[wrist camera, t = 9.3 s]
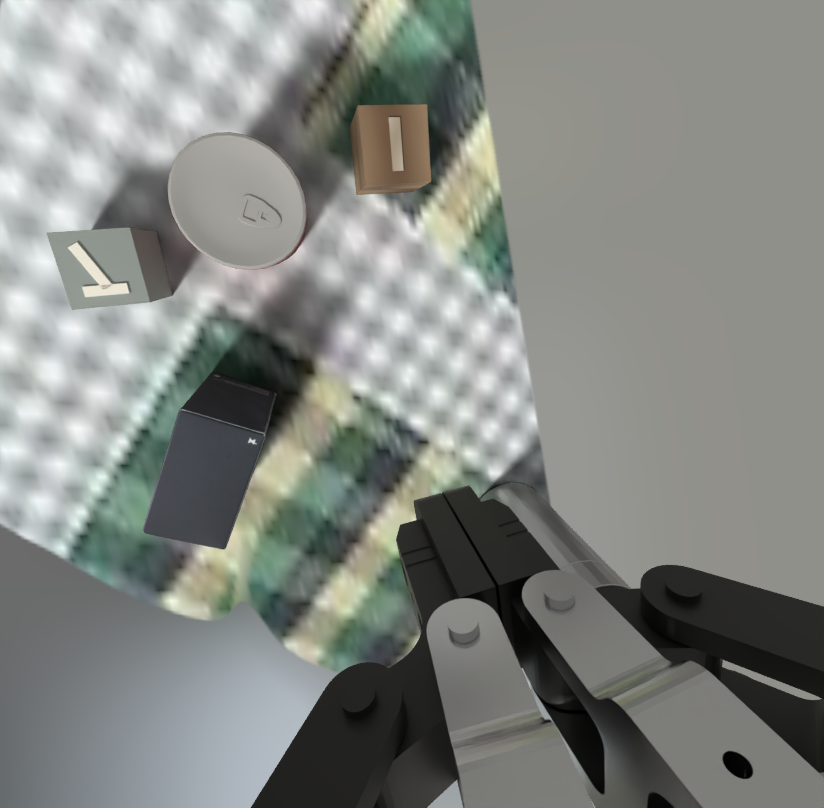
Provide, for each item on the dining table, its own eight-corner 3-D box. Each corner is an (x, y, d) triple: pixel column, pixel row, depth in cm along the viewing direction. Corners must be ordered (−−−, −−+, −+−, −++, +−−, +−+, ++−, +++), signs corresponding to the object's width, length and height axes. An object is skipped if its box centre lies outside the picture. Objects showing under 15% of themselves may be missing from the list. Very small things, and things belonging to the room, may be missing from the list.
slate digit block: (156, 231, 35) (128, 227, 30) (173, 295, 37) (149, 302, 31) (87, 236, 34) (45, 232, 29) (107, 301, 36) (71, 309, 30)
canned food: (304, 270, 39) (304, 276, 29) (206, 260, 37) (169, 262, 27) (307, 175, 37) (309, 144, 26) (203, 158, 35) (161, 118, 24)
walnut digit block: (408, 126, 37) (427, 103, 31) (412, 191, 39) (431, 181, 33) (349, 128, 36) (358, 104, 31) (356, 194, 38) (366, 184, 32)
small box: (206, 368, 40) (175, 404, 30) (278, 391, 42) (271, 432, 32) (174, 470, 42) (136, 535, 32) (244, 487, 44) (228, 553, 34)
